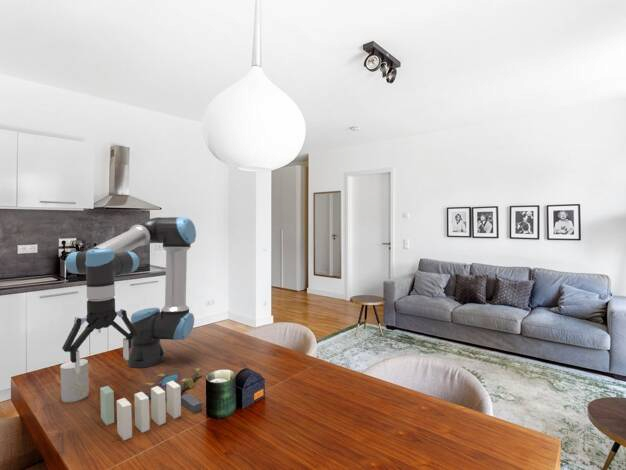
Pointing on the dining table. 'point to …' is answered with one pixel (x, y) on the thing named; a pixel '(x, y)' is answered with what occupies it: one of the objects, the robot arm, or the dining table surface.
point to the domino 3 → (142, 411)
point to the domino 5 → (173, 399)
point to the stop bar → (191, 403)
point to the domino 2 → (124, 419)
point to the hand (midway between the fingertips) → (102, 365)
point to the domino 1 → (107, 405)
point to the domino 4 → (158, 405)
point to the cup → (74, 381)
